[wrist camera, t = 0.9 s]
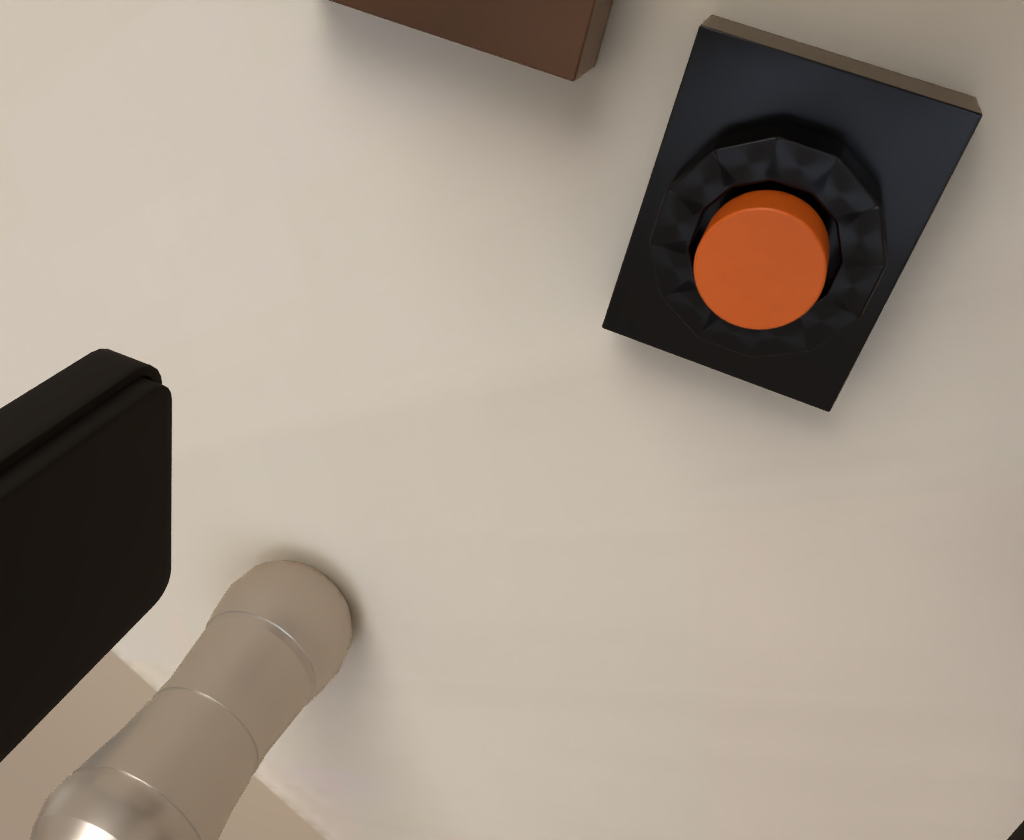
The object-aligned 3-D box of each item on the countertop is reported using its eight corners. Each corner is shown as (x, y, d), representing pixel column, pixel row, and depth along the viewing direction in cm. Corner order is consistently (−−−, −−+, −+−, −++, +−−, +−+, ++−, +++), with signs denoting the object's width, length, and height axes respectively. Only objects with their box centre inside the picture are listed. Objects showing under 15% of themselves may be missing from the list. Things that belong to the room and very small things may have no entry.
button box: (711, 13, 28) (689, 34, 25) (977, 97, 27) (989, 130, 24) (616, 303, 34) (587, 350, 31) (832, 382, 33) (826, 440, 29)
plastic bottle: (343, 542, 44) (31, 938, 28) (385, 652, 47) (124, 1068, 31) (233, 542, 47) (-111, 906, 31) (279, 646, 50) (-13, 1028, 34)
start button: (727, 171, 27) (718, 189, 25) (851, 213, 26) (849, 233, 25) (686, 282, 29) (675, 304, 27) (799, 323, 28) (795, 348, 27)
